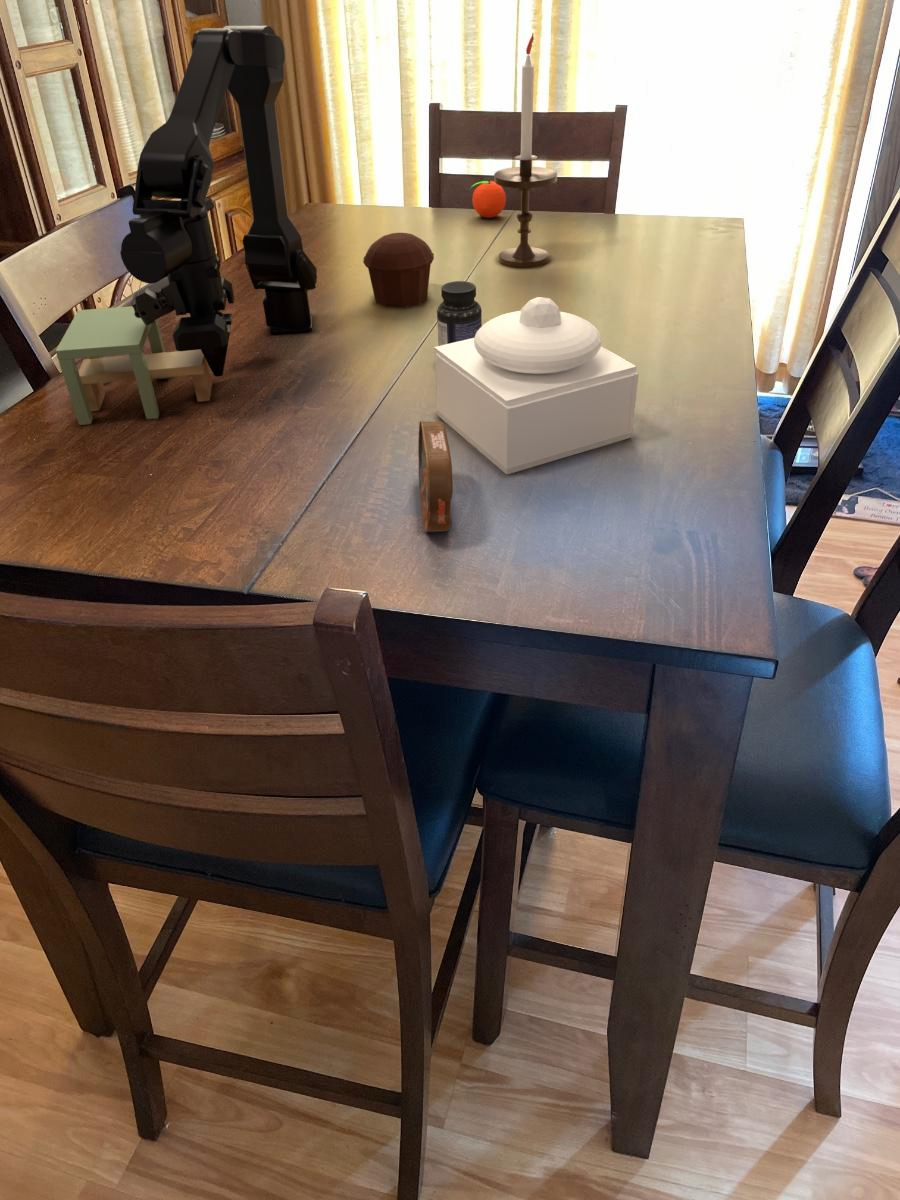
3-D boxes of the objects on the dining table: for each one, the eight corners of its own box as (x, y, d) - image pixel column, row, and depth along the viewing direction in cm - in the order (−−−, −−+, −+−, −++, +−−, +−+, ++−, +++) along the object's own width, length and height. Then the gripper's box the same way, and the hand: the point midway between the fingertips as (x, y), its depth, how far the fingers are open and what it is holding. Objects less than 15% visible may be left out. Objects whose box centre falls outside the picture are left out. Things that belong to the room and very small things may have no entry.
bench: (212, 383, 122) (205, 348, 119) (209, 400, 118) (202, 365, 115) (94, 393, 121) (83, 359, 117) (86, 412, 116) (75, 376, 113)
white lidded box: (506, 475, 100) (508, 340, 90) (435, 413, 113) (430, 289, 103) (632, 437, 106) (646, 307, 96) (551, 383, 119) (556, 263, 109)
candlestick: (563, 255, 162) (575, 29, 140) (536, 272, 155) (543, 37, 133) (512, 247, 166) (515, 27, 145) (483, 263, 159) (481, 35, 138)
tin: (417, 474, 101) (413, 407, 96) (445, 472, 101) (442, 405, 96) (426, 549, 89) (421, 477, 84) (457, 546, 89) (454, 474, 84)
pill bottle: (487, 358, 126) (487, 281, 119) (474, 375, 122) (473, 296, 115) (447, 354, 128) (444, 277, 121) (432, 370, 123) (429, 292, 116)
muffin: (394, 316, 140) (390, 251, 134) (352, 299, 147) (346, 237, 140) (449, 297, 146) (448, 234, 140) (407, 282, 153) (403, 221, 147)
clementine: (465, 221, 181) (464, 184, 176) (470, 212, 186) (469, 176, 182) (503, 222, 180) (504, 184, 175) (507, 212, 185) (507, 176, 181)
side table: (170, 374, 125) (153, 304, 119) (158, 418, 114) (139, 344, 108) (98, 380, 124) (77, 310, 118) (79, 425, 113) (55, 350, 107)
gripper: (136, 241, 116) (165, 354, 125) (114, 287, 101) (149, 411, 111) (222, 233, 117) (244, 346, 126) (212, 278, 102) (238, 402, 112)
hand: (218, 375), depth 119 cm, fingers closed, pressing on bench
